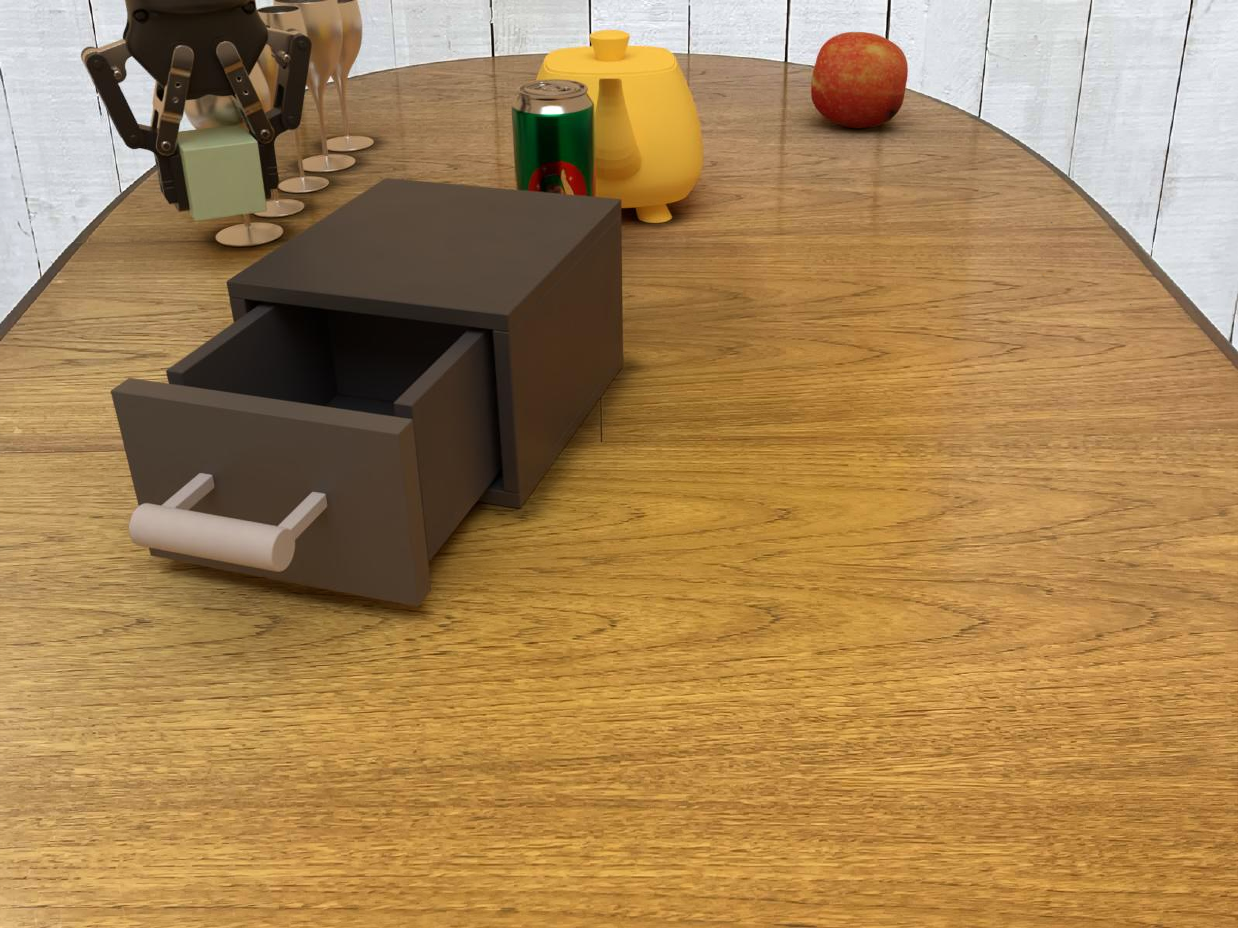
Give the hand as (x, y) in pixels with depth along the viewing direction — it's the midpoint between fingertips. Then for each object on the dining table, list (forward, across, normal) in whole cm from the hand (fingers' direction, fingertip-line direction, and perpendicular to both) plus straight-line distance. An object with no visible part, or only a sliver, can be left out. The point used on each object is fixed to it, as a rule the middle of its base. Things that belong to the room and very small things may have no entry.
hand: (222, 200), depth 82 cm
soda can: (+4, -18, +12) cm, 23 cm away
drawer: (+3, +3, +36) cm, 36 cm away
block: (0, 0, 0) cm, 0 cm away
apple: (+3, -57, -6) cm, 57 cm away
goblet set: (+4, -9, -14) cm, 17 cm away
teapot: (+4, -28, +2) cm, 28 cm away
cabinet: (+4, -5, +27) cm, 28 cm away
